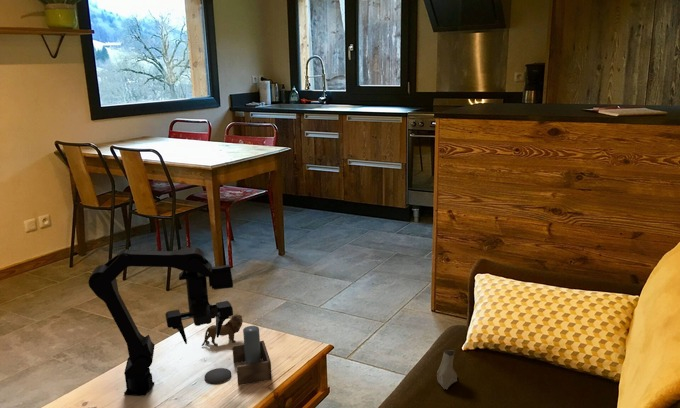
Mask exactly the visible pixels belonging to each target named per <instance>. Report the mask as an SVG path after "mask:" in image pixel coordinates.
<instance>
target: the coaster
mask: <svg viewBox="0 0 680 408" xmlns="http://www.w3.org/2000/svg"><path fill="white" fill-rule="evenodd" d="M231 378H232V371H231V370H230V369H228V368H227V367H226V368H224V367H218V368H213V369H211V370H210V369H209V370H208V371H207V372H206V373H205V375H204V380H205V382H206V383H208V384H211V385H219V384H223V383H226V382H228V381H229V380H230V379H231Z"/></svg>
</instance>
